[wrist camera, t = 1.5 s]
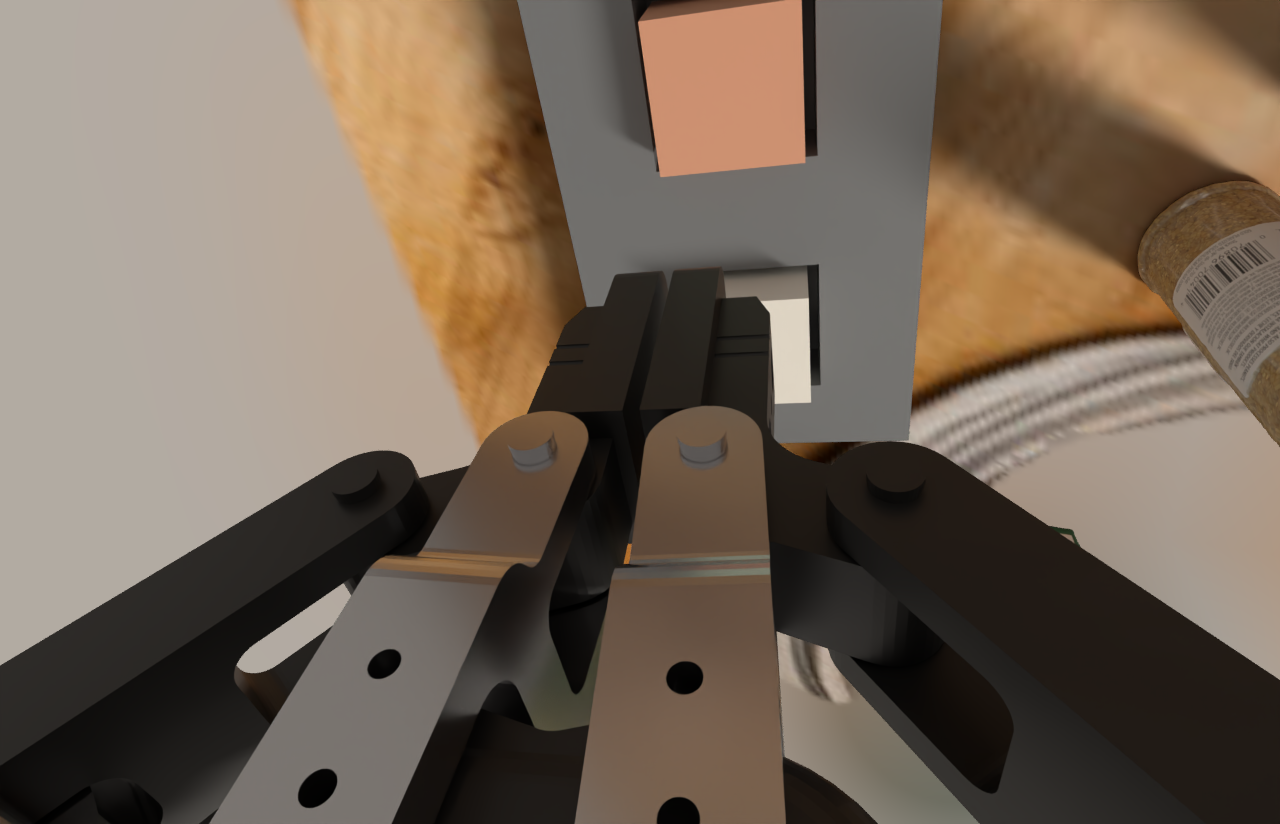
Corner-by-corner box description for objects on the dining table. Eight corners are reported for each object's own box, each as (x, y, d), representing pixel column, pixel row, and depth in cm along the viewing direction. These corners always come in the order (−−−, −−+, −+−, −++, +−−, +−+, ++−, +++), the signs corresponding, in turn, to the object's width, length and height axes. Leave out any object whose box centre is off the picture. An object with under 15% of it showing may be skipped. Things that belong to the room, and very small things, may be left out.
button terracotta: (800, -21, 22) (801, -3, 20) (803, 131, 24) (805, 162, 22) (651, 1, 23) (638, 21, 21) (670, 146, 25) (660, 177, 23)
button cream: (806, 259, 27) (808, 298, 25) (809, 359, 30) (811, 402, 28) (686, 268, 28) (678, 306, 26) (699, 364, 31) (693, 406, 29)
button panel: (975, -759, 15) (1009, -862, 13) (899, 395, 32) (908, 440, 30) (427, -573, 18) (373, -631, 15) (629, 404, 35) (618, 446, 33)
